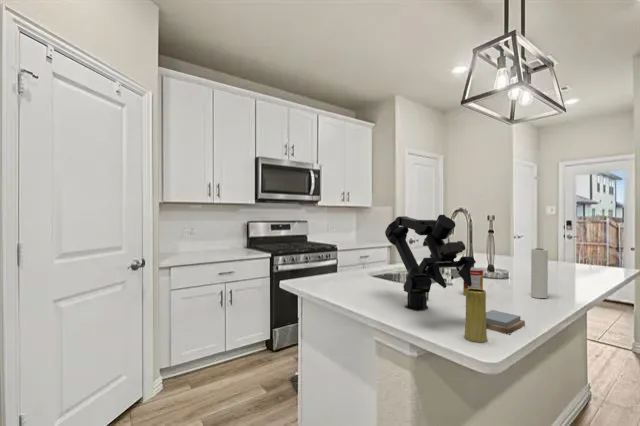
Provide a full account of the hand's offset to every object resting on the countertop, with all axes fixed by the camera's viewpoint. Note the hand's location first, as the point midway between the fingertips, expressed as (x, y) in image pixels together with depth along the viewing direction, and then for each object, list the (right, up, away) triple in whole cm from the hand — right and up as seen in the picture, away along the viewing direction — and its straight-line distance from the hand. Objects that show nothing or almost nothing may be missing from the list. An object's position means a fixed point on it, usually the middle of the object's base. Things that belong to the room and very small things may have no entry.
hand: (458, 286), depth 107 cm
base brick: (+15, -14, +4) cm, 21 cm away
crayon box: (-1, -14, +37) cm, 40 cm away
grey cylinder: (+53, -14, +42) cm, 69 cm away
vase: (+2, -14, -8) cm, 16 cm away
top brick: (+15, -12, +4) cm, 20 cm away
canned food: (+25, -14, +45) cm, 53 cm away
